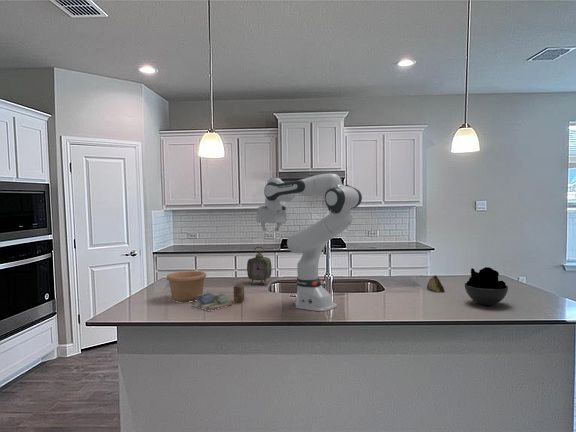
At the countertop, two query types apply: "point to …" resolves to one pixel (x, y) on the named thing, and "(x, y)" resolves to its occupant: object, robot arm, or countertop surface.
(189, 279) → the pottery
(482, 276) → the bowl of black rocks
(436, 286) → the rock
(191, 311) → the countertop surface
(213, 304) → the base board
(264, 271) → the tabletop clock
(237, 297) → the pillar
